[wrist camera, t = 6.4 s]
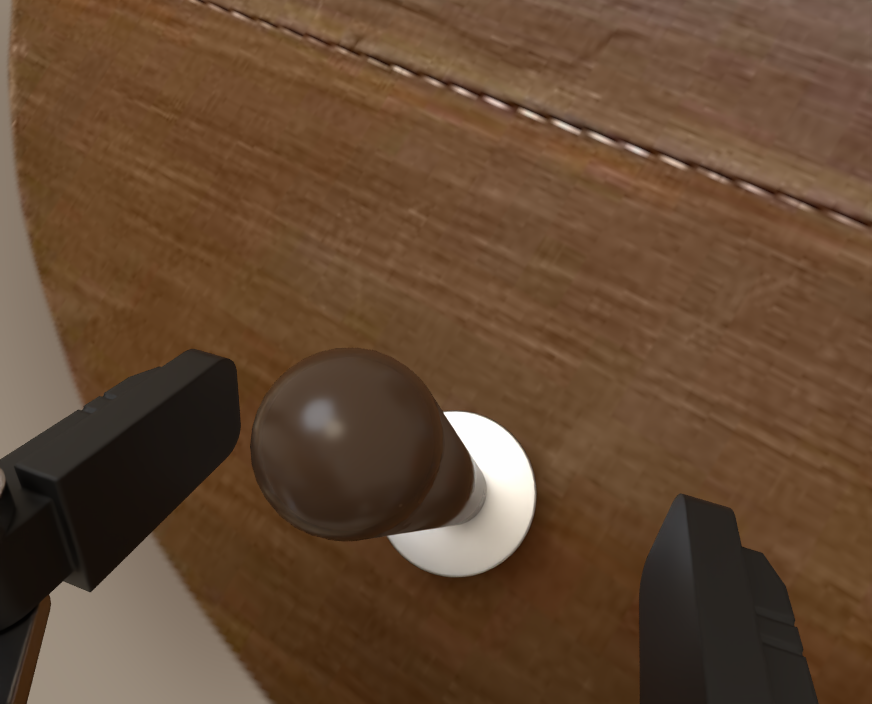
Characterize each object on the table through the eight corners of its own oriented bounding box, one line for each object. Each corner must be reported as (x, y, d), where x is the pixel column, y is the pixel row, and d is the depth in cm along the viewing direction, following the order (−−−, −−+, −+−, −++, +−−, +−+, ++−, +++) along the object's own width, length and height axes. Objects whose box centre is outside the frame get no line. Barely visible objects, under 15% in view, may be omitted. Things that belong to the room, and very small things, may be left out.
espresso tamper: (366, 543, 16) (-30, 617, 4) (412, 402, 17) (192, 147, 5) (512, 594, 15) (515, 862, 3) (550, 442, 16) (657, 242, 4)
